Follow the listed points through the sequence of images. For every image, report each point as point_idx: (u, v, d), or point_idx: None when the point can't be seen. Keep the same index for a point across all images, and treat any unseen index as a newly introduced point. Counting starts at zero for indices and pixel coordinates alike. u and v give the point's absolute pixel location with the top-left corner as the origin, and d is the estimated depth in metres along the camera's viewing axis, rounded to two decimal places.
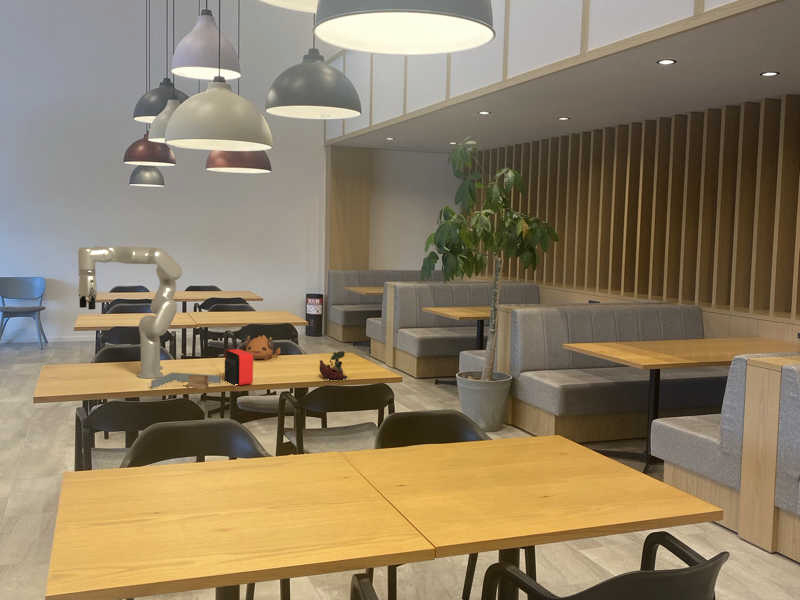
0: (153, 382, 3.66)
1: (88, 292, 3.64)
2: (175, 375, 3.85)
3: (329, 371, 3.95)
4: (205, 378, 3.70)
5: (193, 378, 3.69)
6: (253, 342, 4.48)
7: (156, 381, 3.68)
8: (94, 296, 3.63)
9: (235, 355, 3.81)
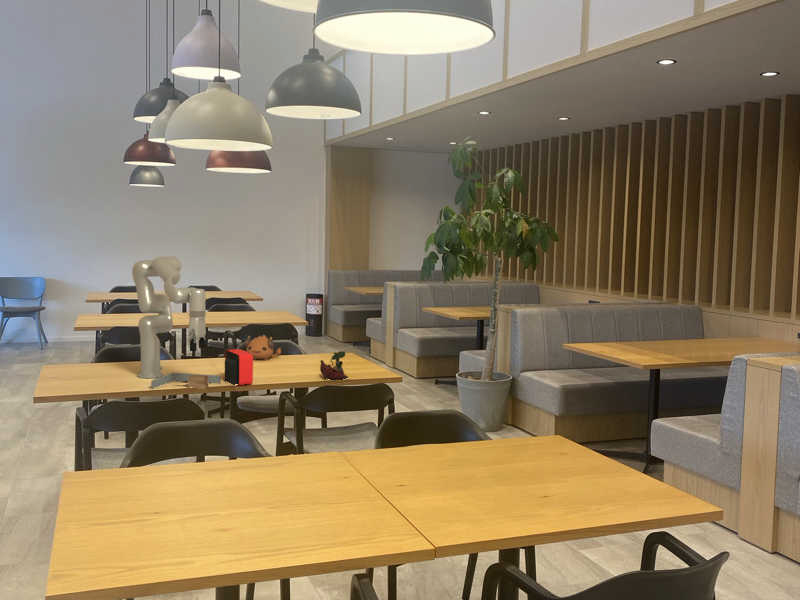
0: (153, 382, 3.66)
1: None
2: (175, 375, 3.85)
3: (329, 371, 3.95)
4: (205, 378, 3.70)
5: (193, 378, 3.69)
6: (253, 342, 4.48)
7: (156, 381, 3.68)
8: None
9: (235, 355, 3.81)
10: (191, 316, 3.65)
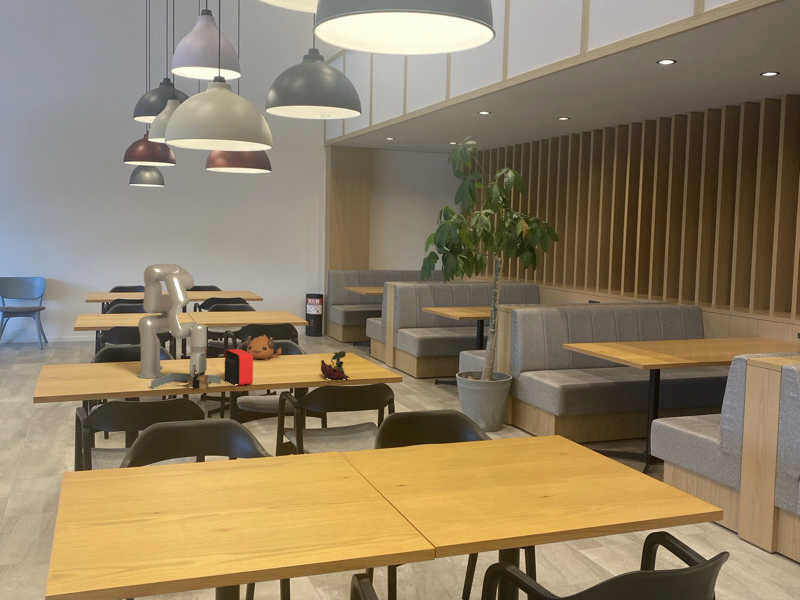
0: (153, 382, 3.66)
1: None
2: (175, 375, 3.85)
3: (330, 371, 3.95)
4: (205, 378, 3.70)
5: None
6: (254, 342, 4.49)
7: (156, 381, 3.68)
8: None
9: (235, 355, 3.81)
10: (192, 351, 3.67)
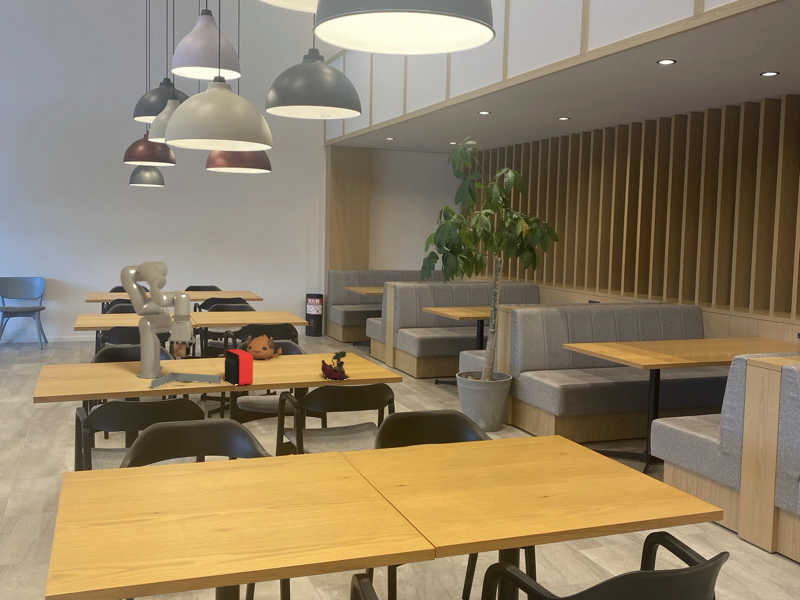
0: (153, 382, 3.66)
1: None
2: (175, 375, 3.85)
3: (330, 371, 3.96)
4: None
5: (185, 346, 3.75)
6: (254, 342, 4.49)
7: (156, 381, 3.68)
8: None
9: (235, 355, 3.81)
10: (187, 320, 3.74)
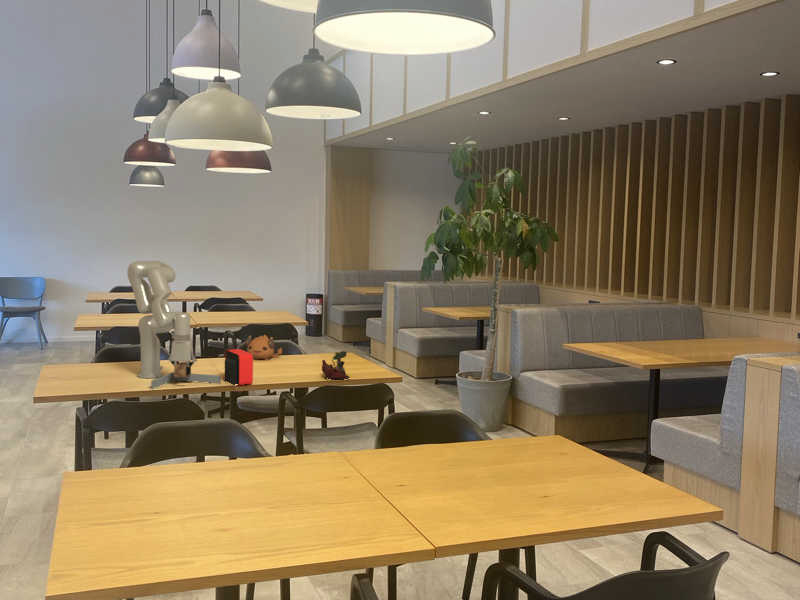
0: (153, 382, 3.66)
1: None
2: None
3: (330, 371, 3.96)
4: None
5: (186, 366, 3.76)
6: (254, 342, 4.49)
7: (156, 381, 3.68)
8: None
9: (235, 355, 3.81)
10: (187, 340, 3.75)
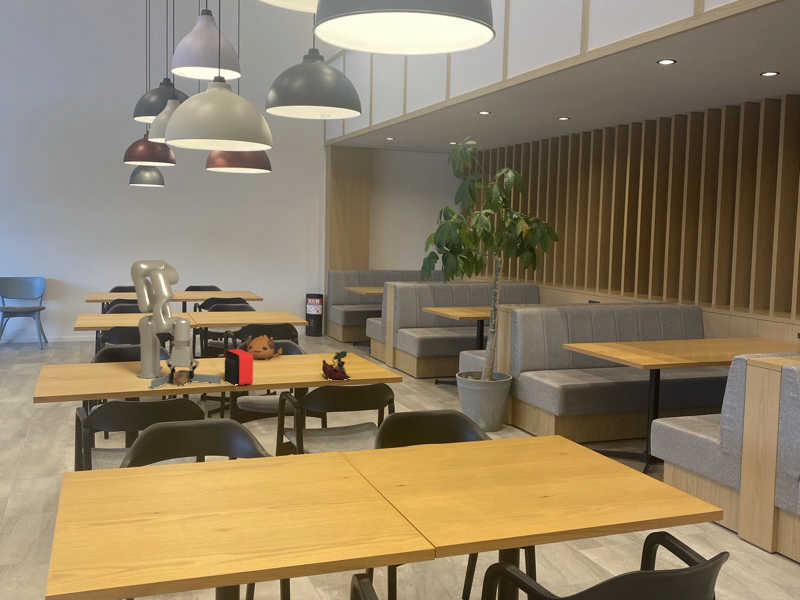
0: (153, 382, 3.66)
1: None
2: None
3: (331, 371, 3.96)
4: None
5: (185, 374, 3.77)
6: (254, 342, 4.50)
7: (156, 381, 3.68)
8: None
9: (235, 355, 3.81)
10: (187, 345, 3.75)
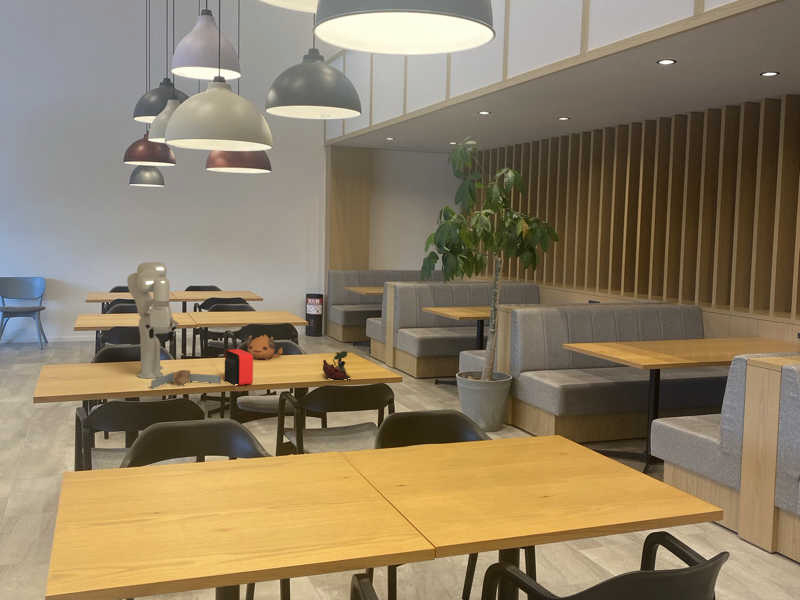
0: (153, 382, 3.66)
1: None
2: None
3: (331, 371, 3.96)
4: None
5: (185, 374, 3.77)
6: (254, 341, 4.50)
7: (156, 381, 3.68)
8: None
9: (235, 355, 3.81)
10: (166, 306, 3.71)
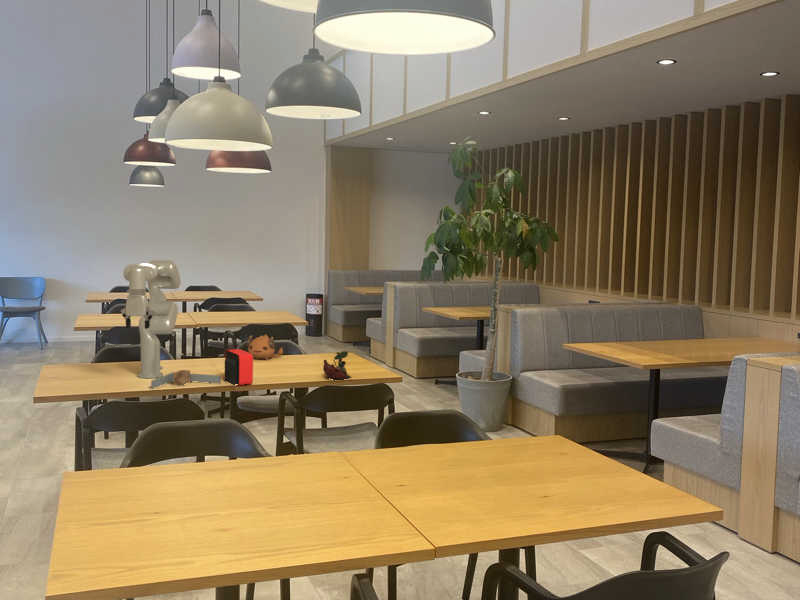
0: (153, 382, 3.66)
1: None
2: None
3: (331, 371, 3.96)
4: None
5: (185, 374, 3.77)
6: (254, 341, 4.50)
7: (156, 381, 3.68)
8: None
9: (235, 355, 3.81)
10: (142, 294, 3.68)
